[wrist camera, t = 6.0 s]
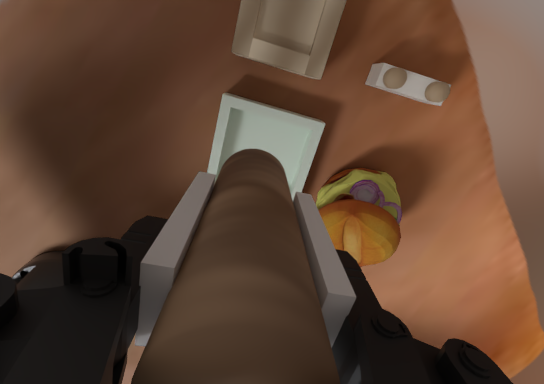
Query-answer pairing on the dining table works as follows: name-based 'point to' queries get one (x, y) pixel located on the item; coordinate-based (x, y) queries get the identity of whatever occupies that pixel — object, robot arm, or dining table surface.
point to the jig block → (288, 33)
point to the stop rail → (407, 84)
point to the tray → (266, 136)
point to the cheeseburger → (362, 214)
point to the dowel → (242, 291)
